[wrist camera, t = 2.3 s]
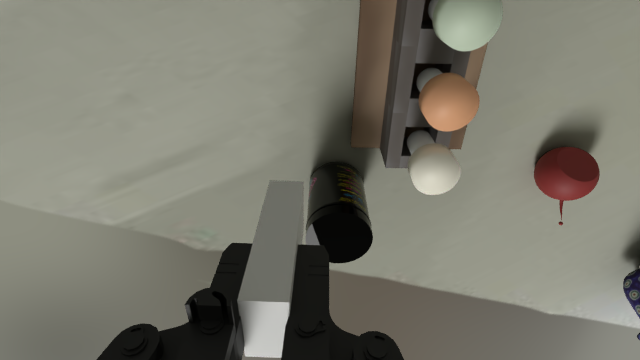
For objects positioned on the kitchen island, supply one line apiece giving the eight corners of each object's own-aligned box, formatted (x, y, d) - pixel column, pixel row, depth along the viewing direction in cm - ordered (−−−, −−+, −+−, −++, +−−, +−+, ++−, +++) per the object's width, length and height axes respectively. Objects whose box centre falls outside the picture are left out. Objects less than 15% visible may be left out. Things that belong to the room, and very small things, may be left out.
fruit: (516, 165, 45) (533, 225, 41) (542, 140, 40) (563, 205, 36) (564, 166, 45) (585, 226, 41) (596, 141, 40) (623, 206, 36)
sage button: (414, 33, 30) (435, 51, 24) (422, -21, 28) (447, -16, 22) (462, 34, 30) (493, 51, 24) (473, -21, 28) (510, -15, 22)
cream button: (396, 158, 36) (409, 194, 31) (401, 122, 34) (416, 153, 29) (435, 159, 36) (455, 195, 31) (443, 122, 34) (466, 154, 29)
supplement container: (313, 154, 42) (311, 207, 33) (369, 163, 43) (380, 217, 34) (305, 200, 46) (300, 258, 37) (356, 208, 46) (363, 267, 38)
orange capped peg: (404, 101, 33) (420, 131, 28) (411, 57, 31) (429, 79, 25) (447, 102, 33) (472, 132, 28) (456, 58, 31) (485, 80, 25)
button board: (350, 143, 41) (354, 167, 37) (362, -38, 32) (369, -37, 27) (458, 145, 41) (475, 169, 37) (502, -36, 32) (533, -35, 27)
